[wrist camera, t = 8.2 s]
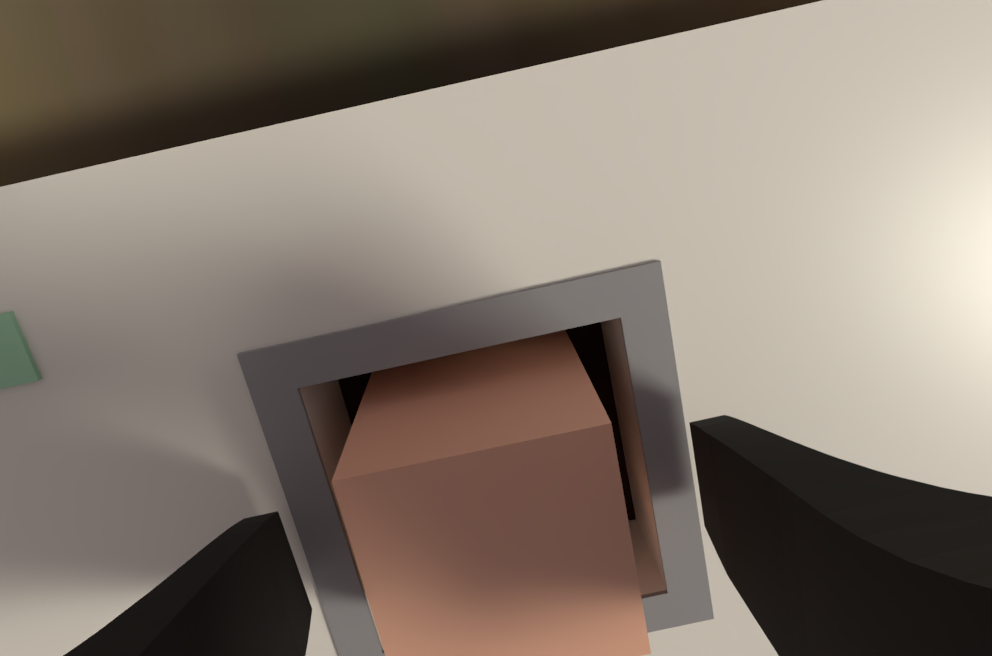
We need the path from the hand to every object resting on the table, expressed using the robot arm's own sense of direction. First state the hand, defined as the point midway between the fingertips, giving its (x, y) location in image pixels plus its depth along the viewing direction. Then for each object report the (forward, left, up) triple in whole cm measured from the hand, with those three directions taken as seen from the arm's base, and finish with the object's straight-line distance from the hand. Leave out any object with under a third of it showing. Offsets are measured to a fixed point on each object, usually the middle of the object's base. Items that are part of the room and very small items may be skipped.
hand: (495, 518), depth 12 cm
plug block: (0, 0, -3) cm, 3 cm away
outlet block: (0, 0, -3) cm, 3 cm away
